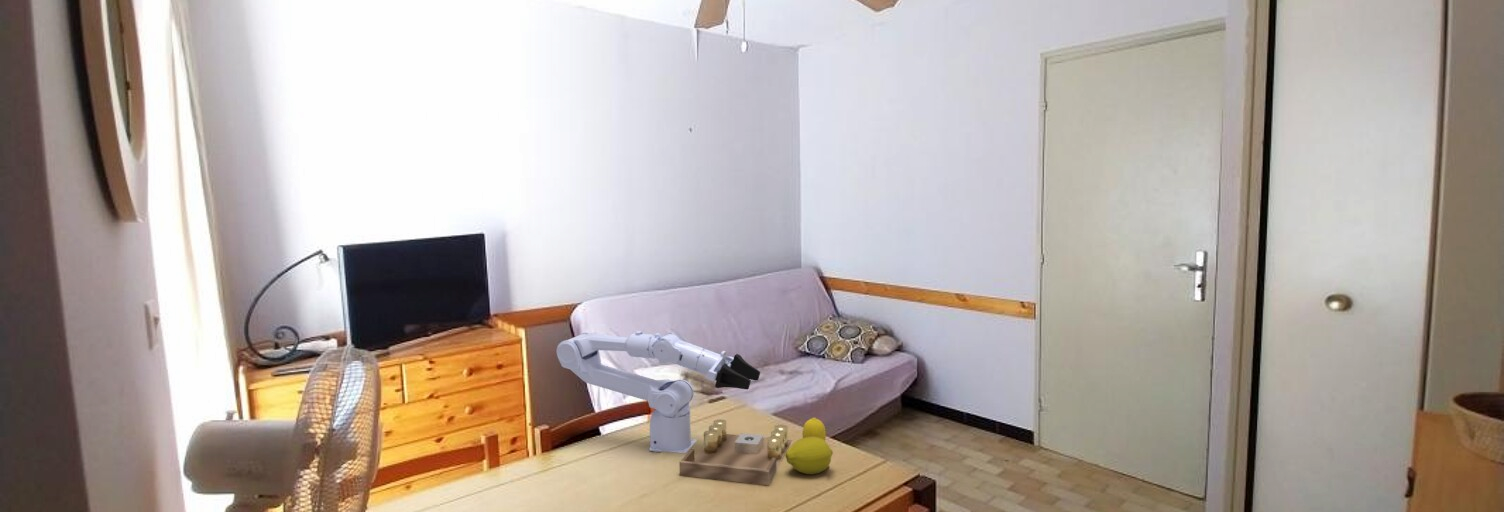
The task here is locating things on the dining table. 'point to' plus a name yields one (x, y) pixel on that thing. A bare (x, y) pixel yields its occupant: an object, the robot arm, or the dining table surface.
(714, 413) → the dining table surface
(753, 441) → the square block with knob
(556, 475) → the dining table surface
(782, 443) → the spacers
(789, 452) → the lemon
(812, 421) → the lemon
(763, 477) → the tray
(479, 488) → the dining table surface
